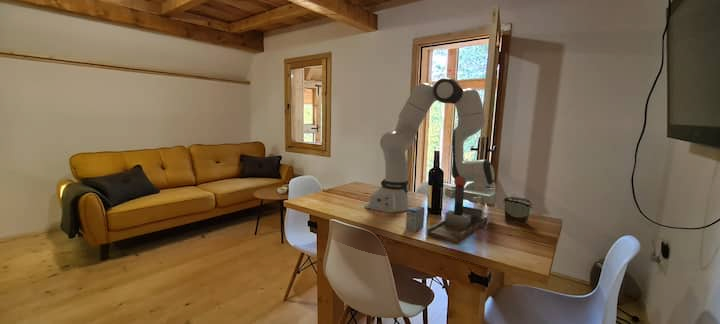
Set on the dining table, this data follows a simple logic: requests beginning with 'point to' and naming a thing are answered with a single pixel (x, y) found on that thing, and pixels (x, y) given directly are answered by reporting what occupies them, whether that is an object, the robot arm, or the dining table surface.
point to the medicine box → (415, 218)
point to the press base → (455, 233)
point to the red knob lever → (458, 207)
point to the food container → (517, 209)
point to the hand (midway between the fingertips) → (461, 198)
